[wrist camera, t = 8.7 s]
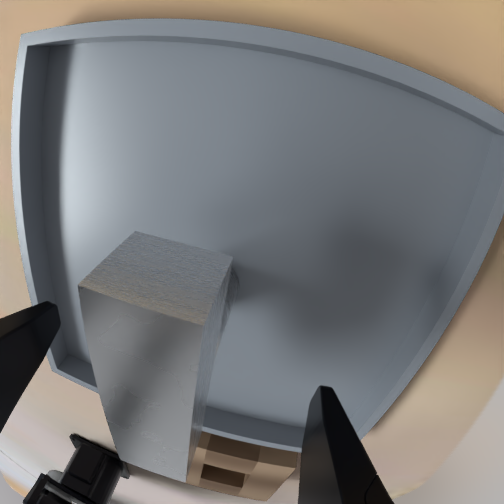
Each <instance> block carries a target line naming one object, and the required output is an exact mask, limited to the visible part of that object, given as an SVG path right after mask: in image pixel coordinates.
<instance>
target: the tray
mask: <svg viewBox="0 0 504 504" xmlns="http://www.w3.org/2000/svg"><path fill="white" fill-rule="evenodd" d="M11 160H12V182H13V196H14V207H15V216H16V224H17V232H18V239H19V245H20V251H21V257H22V263H23V268H24V273H25V278H26V282H27V287H28V291H29V296H30V300H31V304H32V306H34V305H37V304H39V303H42V302H44V301H50V302H53V303H55V304H56V305H57V306H58V310H59V315H60V319H61V326H60V329H59V331H58V332H57V334H56V336H55V338H54V340H53V342H52V344H51V346H50V348H49V350H48V352H47V354H46V355H47V358H48V361H49V364H50V366H51V369H52V371H53V372H55V373H57V374H59V375H61V376H63V377H65V378H67V379H69V380H71V381H73V382H75V383H77V384H79V385H81V386H83V387H86V388H88V389H90V390H92V391H94V392H97V393H99V391H98V388H97V384H96V380H95V376H94V372H93V367H92V363H91V359H90V354H89V350H88V345H87V340H86V335H85V329H84V324H83V318H82V312H81V306H80V299H79V292H78V284H79V283H80V282H81V281H82V280H83V279H84V278H85V277H86V276H87V275H88V274H89V273H90V272H91V271H92V270H93V269H94V268H95V267H96V266H98V265H99V264H100V263H101V262H102V261H103V260H104V259H105V258H106V257H107V256H108V255H109V254H110V253H111V252H113V251H114V250H115V249H116V248H117V247H118V246H119V245H120V244H121V243H122V242H123V241H125V240H126V239H127V238H128V237H129V236H130V235H131V234H132V233H134V232H135V231H137V232H141V233H145V234H149V235H153V236H157V237H161V238H165V239H169V240H173V241H177V242H180V243H184V244H188V245H192V246H196V247H200V248H204V249H208V250H212V251H216V252H220V253H224V254H228V255H232V256H234V258H233V263H232V268H233V269H234V271H235V272H236V274H237V276H238V279H239V290H238V293H237V296H236V299H235V302H234V305H233V308H232V310H231V313H230V316H229V319H228V322H227V325H226V328H225V331H224V334H223V337H222V340H221V342H220V345H219V348H218V351H217V354H216V357H215V360H214V366H213V371H212V377H211V382H210V388H209V394H208V400H207V405H206V411H205V417H204V423H203V429H202V431H204V432H208V433H211V434H215V435H219V436H223V437H226V438H230V439H235V440H239V441H243V442H247V443H252V444H257V445H261V446H266V447H271V448H277V449H282V450H288V451H294V452H300V453H301V452H302V443H303V438H304V432H305V426H306V421H307V415H308V409H309V404H310V401H311V399H312V397H313V395H314V393H315V392H316V390H317V388H318V387H319V386H320V385H324V386H329V387H332V388H333V389H334V391H335V393H336V395H337V397H338V399H339V401H340V402H341V404H342V406H343V408H344V410H345V412H346V414H347V416H348V418H349V420H350V422H351V424H352V425H353V427H354V429H355V431H356V433H357V435H358V437H359V439H360V440H361V439H362V438H363V437H364V436H365V435H366V434H367V433H368V432H369V431H370V429H371V428H372V427H373V426H374V425H375V424H376V423H377V421H378V420H379V419H380V418H381V417H382V416H383V414H384V413H385V412H386V411H387V410H388V408H389V407H390V406H391V405H392V404H393V402H394V401H395V400H396V399H397V397H398V396H399V395H400V394H401V392H402V391H403V390H404V388H405V387H406V386H407V384H408V383H409V382H410V380H411V379H412V378H413V376H414V375H415V374H416V372H417V371H418V370H419V368H420V367H421V365H422V364H423V363H424V361H425V360H426V358H427V357H428V355H429V354H430V352H431V351H432V349H433V348H434V346H435V345H436V343H437V342H438V340H439V339H440V337H441V336H442V334H443V332H444V331H445V329H446V328H447V326H448V324H449V323H450V321H451V320H452V318H453V316H454V314H455V313H456V311H457V309H458V308H459V306H460V304H461V302H462V301H463V299H464V297H465V295H466V293H467V292H468V290H469V288H470V286H471V284H472V282H473V280H474V278H475V276H476V275H477V273H478V271H479V269H480V267H481V265H482V262H483V260H484V258H485V256H486V254H487V252H488V250H489V248H490V245H491V243H492V241H493V239H494V236H495V234H496V232H497V229H498V227H499V225H500V222H501V220H502V217H503V215H504V113H502V112H501V111H499V110H497V109H496V108H494V107H492V106H490V105H489V104H487V103H485V102H483V101H481V100H480V99H478V98H476V97H474V96H472V95H470V94H468V93H466V92H465V91H463V90H461V89H459V88H457V87H455V86H452V85H450V84H448V83H446V82H444V81H442V80H440V79H438V78H435V77H433V76H431V75H429V74H426V73H424V72H422V71H419V70H417V69H414V68H412V67H409V66H407V65H404V64H402V63H399V62H396V61H394V60H391V59H388V58H385V57H382V56H380V55H377V54H374V53H371V52H368V51H364V50H361V49H358V48H355V47H351V46H348V45H344V44H341V43H337V42H334V41H330V40H326V39H322V38H318V37H314V36H309V35H305V34H300V33H295V32H290V31H285V30H280V29H274V28H268V27H262V26H255V25H248V24H240V23H232V22H222V21H210V20H195V19H125V20H110V21H99V22H89V23H81V24H73V25H67V26H60V27H54V28H49V29H43V30H38V31H34V32H29V33H25V34H21V38H20V44H19V50H18V56H17V63H16V71H15V80H14V91H13V104H12V126H11Z"/></svg>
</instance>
